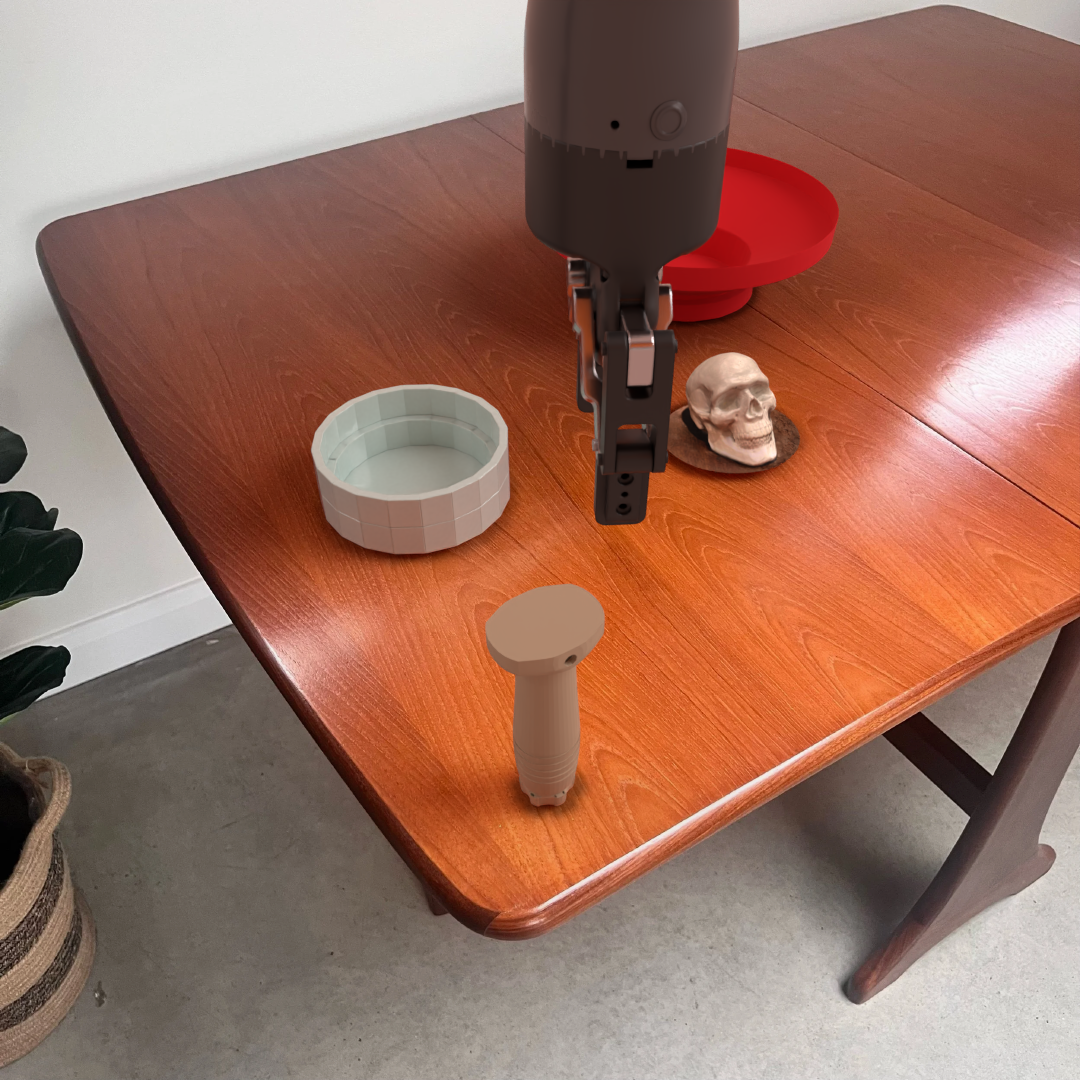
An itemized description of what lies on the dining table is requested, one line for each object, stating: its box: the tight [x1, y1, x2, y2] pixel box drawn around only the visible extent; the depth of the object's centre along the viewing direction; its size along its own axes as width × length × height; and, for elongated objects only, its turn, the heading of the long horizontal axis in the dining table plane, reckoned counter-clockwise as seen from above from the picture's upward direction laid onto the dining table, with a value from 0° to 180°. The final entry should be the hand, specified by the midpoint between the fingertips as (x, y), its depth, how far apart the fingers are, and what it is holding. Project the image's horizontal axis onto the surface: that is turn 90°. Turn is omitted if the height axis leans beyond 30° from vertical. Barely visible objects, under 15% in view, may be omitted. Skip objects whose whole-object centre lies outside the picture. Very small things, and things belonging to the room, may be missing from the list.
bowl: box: [554, 147, 840, 323], centre depth 109 cm, size 30×30×10 cm
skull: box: [667, 351, 801, 474], centre depth 90 cm, size 12×10×10 cm
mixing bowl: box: [310, 383, 511, 555], centre depth 84 cm, size 15×15×6 cm
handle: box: [484, 583, 606, 807], centre depth 60 cm, size 5×6×15 cm
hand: (608, 460), depth 48 cm, fingers open, 8 cm apart
